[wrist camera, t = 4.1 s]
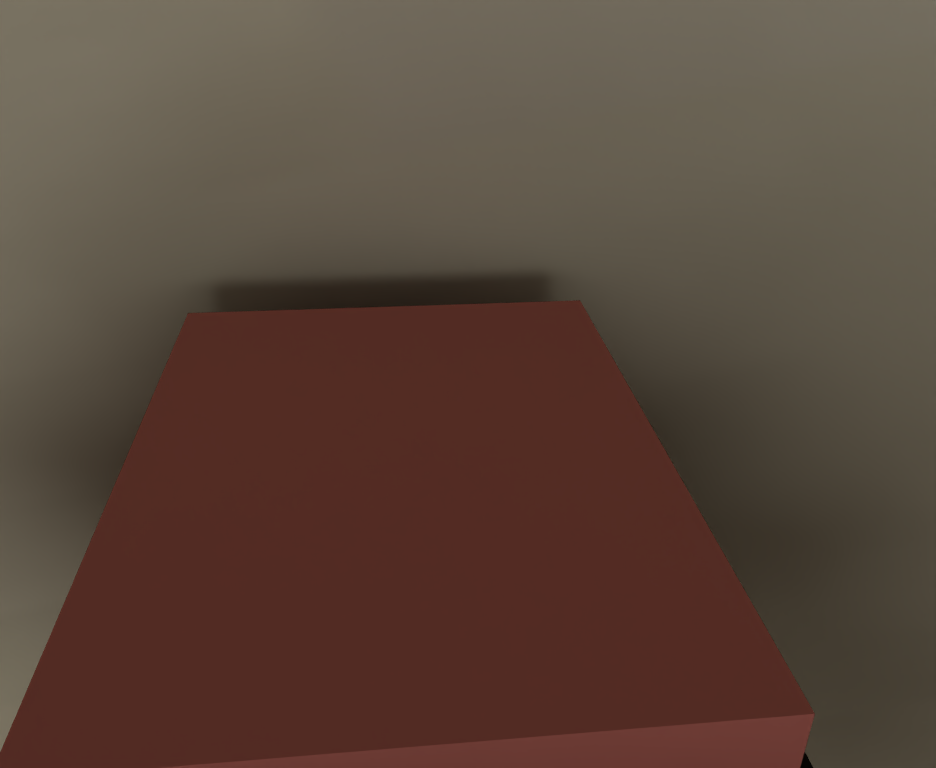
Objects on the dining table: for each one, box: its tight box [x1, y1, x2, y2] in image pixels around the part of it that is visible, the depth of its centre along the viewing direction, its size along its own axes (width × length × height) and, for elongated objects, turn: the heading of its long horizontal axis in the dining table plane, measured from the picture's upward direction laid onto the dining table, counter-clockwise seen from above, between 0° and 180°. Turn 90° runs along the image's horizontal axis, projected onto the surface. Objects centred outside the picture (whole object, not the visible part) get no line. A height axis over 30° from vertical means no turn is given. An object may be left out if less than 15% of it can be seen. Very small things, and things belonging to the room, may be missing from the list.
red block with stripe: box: [0, 300, 815, 768], centre depth 9 cm, size 4×7×6 cm, turn 179°
